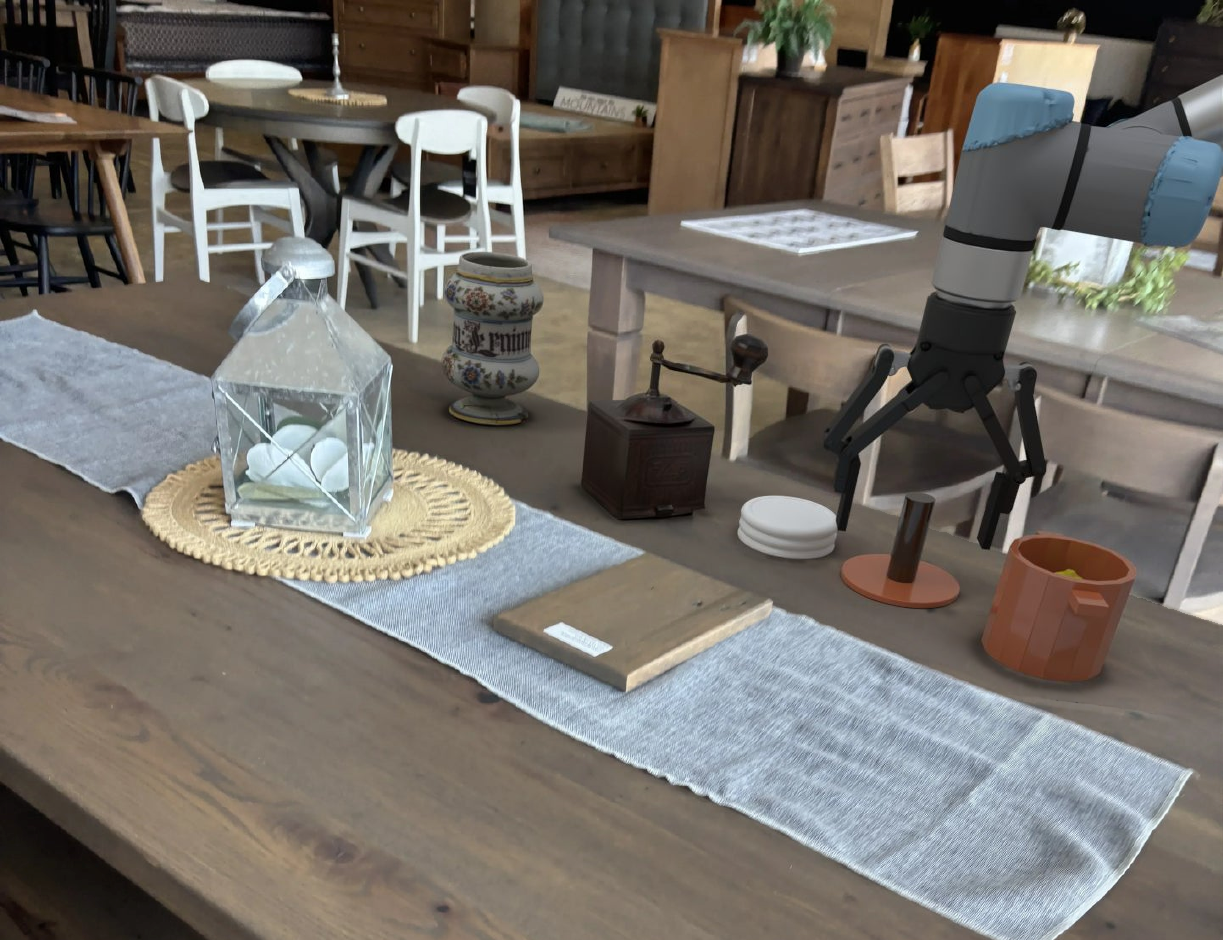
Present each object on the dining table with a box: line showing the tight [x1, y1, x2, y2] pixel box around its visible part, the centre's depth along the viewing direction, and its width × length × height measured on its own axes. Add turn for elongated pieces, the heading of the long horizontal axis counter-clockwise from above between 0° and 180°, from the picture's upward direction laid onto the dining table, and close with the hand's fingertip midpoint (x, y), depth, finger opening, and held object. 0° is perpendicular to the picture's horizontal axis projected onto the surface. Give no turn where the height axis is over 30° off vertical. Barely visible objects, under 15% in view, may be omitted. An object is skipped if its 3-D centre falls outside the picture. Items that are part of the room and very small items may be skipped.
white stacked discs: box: [737, 495, 838, 560], centre depth 122 cm, size 10×10×4 cm
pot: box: [980, 530, 1138, 683], centre depth 104 cm, size 10×16×10 cm, turn 175°
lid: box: [840, 491, 961, 609], centre depth 114 cm, size 11×11×9 cm
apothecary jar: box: [440, 251, 545, 426], centre depth 145 cm, size 12×12×18 cm
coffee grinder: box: [580, 333, 769, 520], centre depth 126 cm, size 16×11×18 cm
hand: (911, 535), depth 113 cm, fingers open, 13 cm apart
